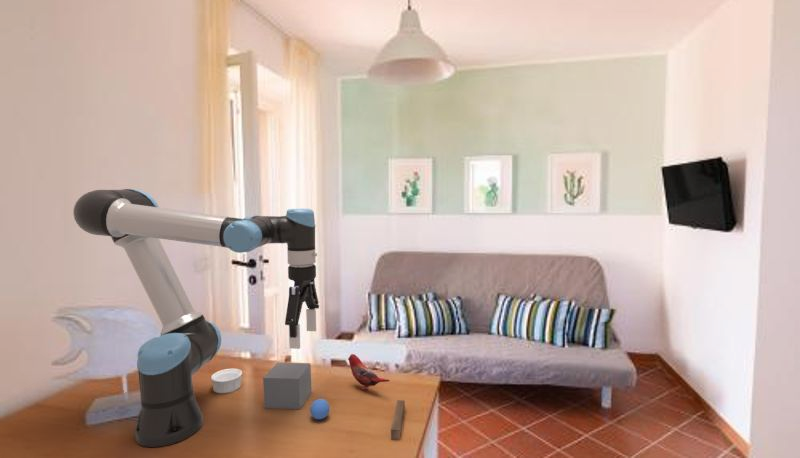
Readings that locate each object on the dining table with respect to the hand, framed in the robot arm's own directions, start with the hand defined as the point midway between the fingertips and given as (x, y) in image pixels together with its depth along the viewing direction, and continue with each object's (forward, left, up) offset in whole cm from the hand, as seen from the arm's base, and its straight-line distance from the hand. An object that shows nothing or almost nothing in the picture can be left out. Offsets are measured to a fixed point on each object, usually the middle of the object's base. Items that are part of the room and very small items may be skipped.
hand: (303, 339), depth 118 cm
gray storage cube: (-6, +1, -19) cm, 19 cm away
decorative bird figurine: (+17, +7, -19) cm, 26 cm away
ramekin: (-28, +7, -19) cm, 34 cm away
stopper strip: (+27, -9, -19) cm, 34 cm away
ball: (+6, -8, -16) cm, 19 cm away
